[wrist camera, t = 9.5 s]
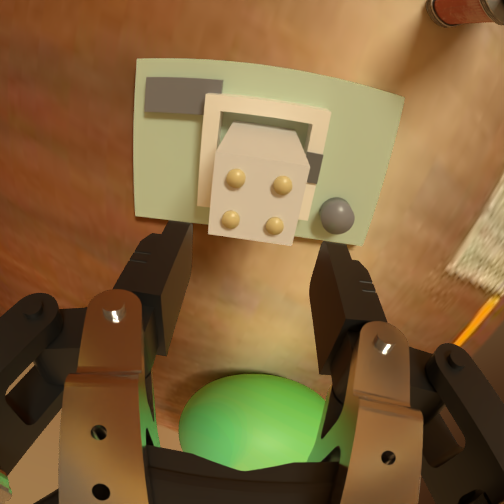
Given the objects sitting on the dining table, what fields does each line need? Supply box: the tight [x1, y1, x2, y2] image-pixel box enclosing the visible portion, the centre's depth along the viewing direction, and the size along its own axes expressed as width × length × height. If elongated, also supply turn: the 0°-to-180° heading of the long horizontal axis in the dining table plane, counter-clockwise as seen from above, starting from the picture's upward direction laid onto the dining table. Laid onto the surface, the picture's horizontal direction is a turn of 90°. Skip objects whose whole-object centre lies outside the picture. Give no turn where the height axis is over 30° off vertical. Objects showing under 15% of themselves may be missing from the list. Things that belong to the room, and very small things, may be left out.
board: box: [133, 58, 405, 246], centre depth 20 cm, size 18×12×3 cm, turn 83°
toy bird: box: [179, 374, 325, 471], centre depth 31 cm, size 18×17×15 cm
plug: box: [208, 120, 310, 246], centre depth 17 cm, size 4×4×8 cm
